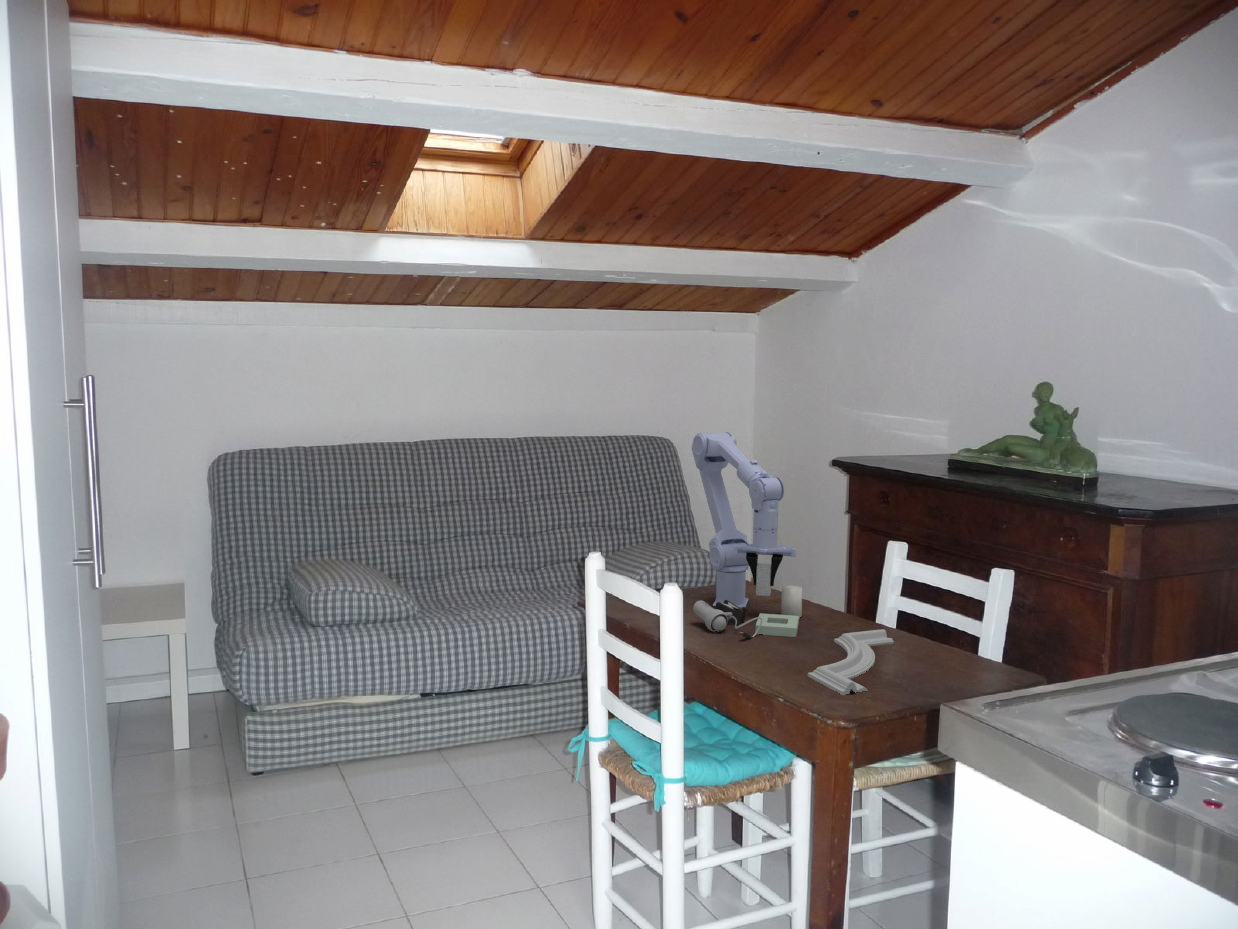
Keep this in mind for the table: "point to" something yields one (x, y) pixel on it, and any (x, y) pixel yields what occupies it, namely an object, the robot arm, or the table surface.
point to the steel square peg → (763, 579)
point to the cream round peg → (791, 600)
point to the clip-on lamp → (723, 616)
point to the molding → (851, 661)
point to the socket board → (778, 625)
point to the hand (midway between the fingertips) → (763, 584)
